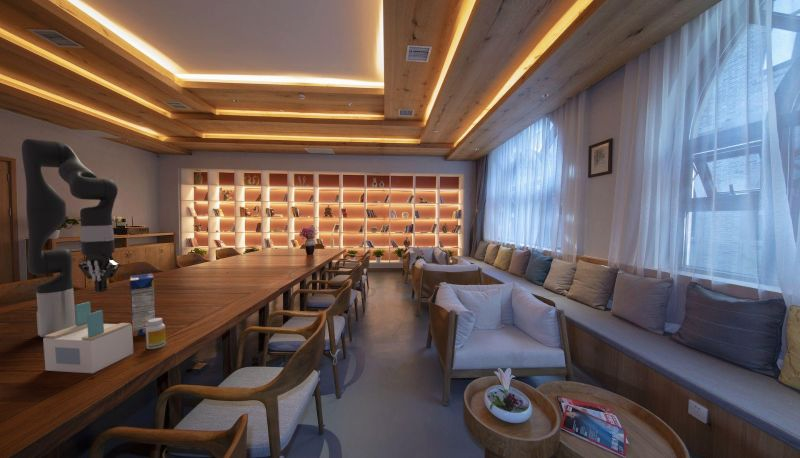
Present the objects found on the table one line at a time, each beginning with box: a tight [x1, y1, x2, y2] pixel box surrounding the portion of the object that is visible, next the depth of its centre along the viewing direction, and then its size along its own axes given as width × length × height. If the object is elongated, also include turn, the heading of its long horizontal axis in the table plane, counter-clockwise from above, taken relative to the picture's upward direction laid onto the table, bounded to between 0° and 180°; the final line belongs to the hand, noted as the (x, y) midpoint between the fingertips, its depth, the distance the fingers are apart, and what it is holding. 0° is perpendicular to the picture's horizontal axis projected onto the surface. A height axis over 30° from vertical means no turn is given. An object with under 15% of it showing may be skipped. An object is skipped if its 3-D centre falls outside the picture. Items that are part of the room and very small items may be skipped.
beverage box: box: [129, 273, 157, 337], centre depth 116 cm, size 7×11×22 cm, turn 43°
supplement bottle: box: [145, 317, 167, 350], centre depth 102 cm, size 5×5×10 cm
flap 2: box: [82, 310, 132, 340], centre depth 91 cm, size 4×11×8 cm, turn 175°
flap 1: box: [44, 301, 92, 338], centre depth 92 cm, size 4×11×8 cm, turn 175°
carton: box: [42, 323, 135, 374], centre depth 92 cm, size 16×12×10 cm
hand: (101, 291), depth 94 cm, fingers closed
